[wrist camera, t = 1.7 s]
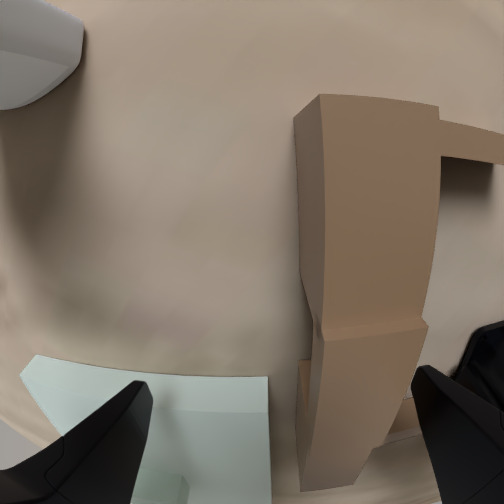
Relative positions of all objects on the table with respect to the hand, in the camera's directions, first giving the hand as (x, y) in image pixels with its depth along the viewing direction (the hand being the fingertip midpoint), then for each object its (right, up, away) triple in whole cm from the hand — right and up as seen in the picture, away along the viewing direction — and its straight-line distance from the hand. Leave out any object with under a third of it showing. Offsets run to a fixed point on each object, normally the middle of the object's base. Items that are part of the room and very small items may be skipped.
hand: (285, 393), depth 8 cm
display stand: (-7, -9, +6) cm, 13 cm away
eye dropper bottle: (-10, +12, -1) cm, 15 cm away
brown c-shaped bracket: (+5, +2, +2) cm, 6 cm away
